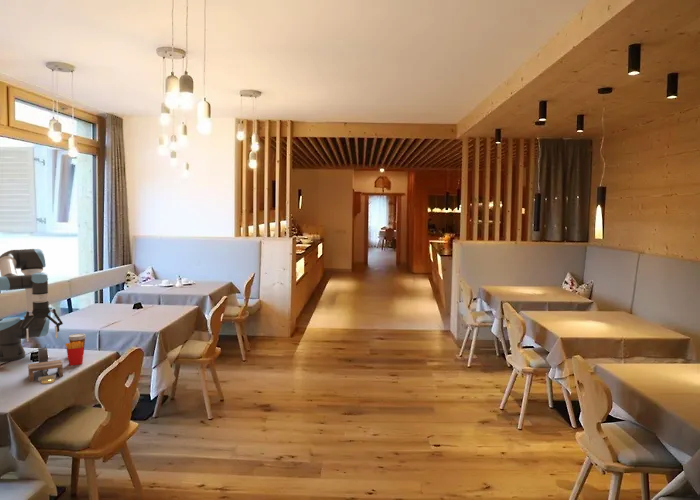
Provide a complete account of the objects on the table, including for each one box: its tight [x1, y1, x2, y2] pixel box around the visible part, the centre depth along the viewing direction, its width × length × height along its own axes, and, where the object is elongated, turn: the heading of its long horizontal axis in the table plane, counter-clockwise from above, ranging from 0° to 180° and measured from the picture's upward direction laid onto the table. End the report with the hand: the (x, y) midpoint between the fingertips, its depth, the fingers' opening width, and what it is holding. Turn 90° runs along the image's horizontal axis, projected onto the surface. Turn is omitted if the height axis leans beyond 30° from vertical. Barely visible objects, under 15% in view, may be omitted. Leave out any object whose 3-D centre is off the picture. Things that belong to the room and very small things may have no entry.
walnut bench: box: [27, 359, 64, 382], centre depth 279 cm, size 10×15×6 cm, turn 125°
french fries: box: [65, 341, 85, 366], centre depth 300 cm, size 9×4×13 cm, turn 118°
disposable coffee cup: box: [68, 332, 87, 355], centre depth 319 cm, size 10×10×12 cm
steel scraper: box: [37, 346, 57, 383], centre depth 282 cm, size 22×8×12 cm, turn 35°
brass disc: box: [40, 378, 56, 385], centre depth 271 cm, size 6×6×2 cm
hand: (42, 339), depth 288 cm, fingers open, 13 cm apart
